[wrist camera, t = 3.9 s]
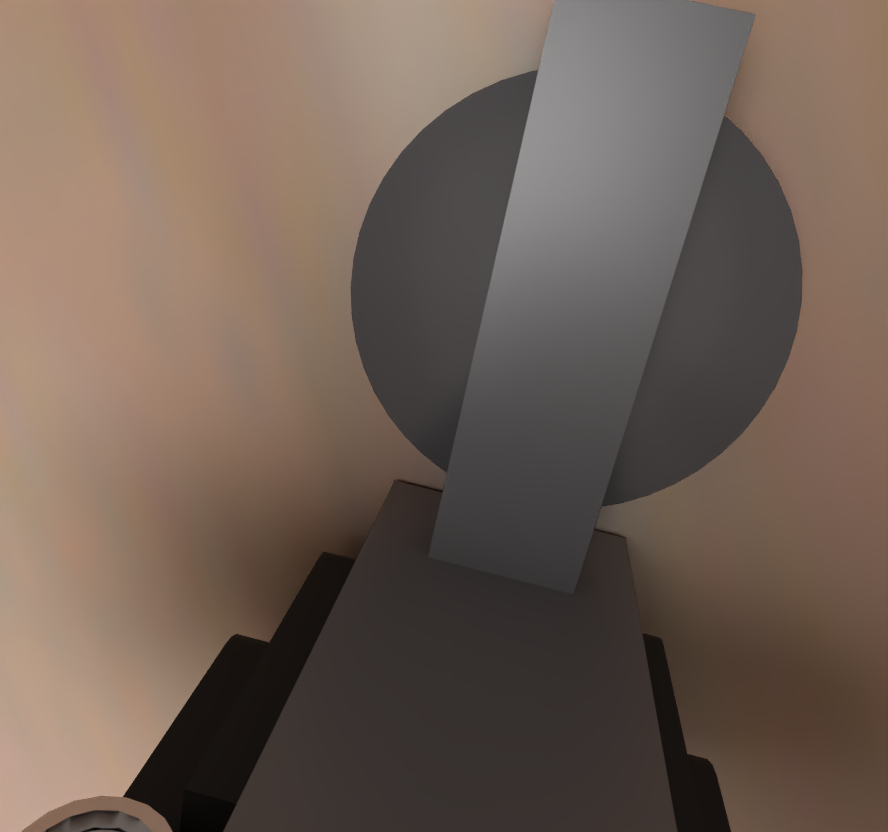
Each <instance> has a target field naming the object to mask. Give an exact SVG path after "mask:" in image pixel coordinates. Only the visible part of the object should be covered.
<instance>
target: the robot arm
mask: <svg viewBox="0 0 888 832" xmlns="http://www.w3.org/2000/svg"><path fill="white" fill-rule="evenodd" d="M355 561H356V559H352V558H348V557H344V556H340V555H336V554H332V553H328V552H323V553H322V554H321V555H320V557H319V559H318V560H317V562H316V564H315V566H314V567H313V569H312V571H311V572H310V574H309V576H308V578H307V579H306V581H305V583H304V584H303V586H302V588H301V590H300V591H299V593H298V595H297V596H296V598H295V600H294V602H293V603H292V605H291V607H290V608H289V610H288V612H287V614H286V615H285V617H284V619H283V620H282V622H281V624H280V625H279V627H278V629H277V631H276V632H275V634H274V636H273V637H272V639H271V641H270V643H269V642H265V641H261V640H257V639H254V638H250V637H246V636H242V635H239V634H236V635H234V636H232V637H231V638H230V639H229V641H228V642H227V643H226V644H225V646H224V647H223V649H222V650H221V652H220V653H219V655H218V656H217V658H216V659H215V661H214V662H213V664H212V665H211V667H210V668H209V670H208V671H207V673H206V674H205V676H204V677H203V678H202V680H201V681H200V683H199V684H198V686H197V687H196V689H195V690H194V692H193V693H192V695H191V696H190V698H189V699H188V701H187V702H186V704H185V705H184V707H183V708H182V710H181V711H180V713H179V714H178V716H177V717H176V719H175V720H174V722H173V723H172V725H171V726H170V728H169V729H168V731H167V732H166V734H165V735H164V737H163V738H162V740H161V741H160V743H159V744H158V745H157V747H156V748H155V750H154V751H153V753H152V754H151V756H150V757H149V759H148V760H147V762H146V763H145V765H144V766H143V768H142V769H141V771H140V772H139V774H138V775H137V777H136V778H135V780H134V781H133V783H132V784H131V786H130V787H129V789H128V790H127V792H126V793H125V795H124V796H123V797H110V796H99V797H93V798H88V799H82V800H77V801H73V802H71V803H69V804H66V805H64V806H61V807H59V808H57V809H54V810H52V811H50V812H48V813H46V814H45V815H43V816H42V817H41V818H39V819H38V820H36V821H35V822H34V823H32V824H31V825H29V826H28V827H27V828H25V829H24V830H23V831H22V832H223V831H224V829H225V827H226V825H227V823H228V821H229V819H230V817H231V815H232V813H233V811H234V809H235V807H236V804H237V802H238V800H239V798H240V796H241V794H242V792H243V790H244V788H245V786H246V784H247V782H248V780H249V778H250V776H251V774H252V772H253V770H254V768H255V766H256V764H257V762H258V759H259V757H260V755H261V753H262V751H263V749H264V747H265V745H266V743H267V741H268V739H269V737H270V735H271V733H272V731H273V729H274V727H275V725H276V723H277V721H278V719H279V717H280V714H281V712H282V710H283V708H284V706H285V704H286V702H287V700H288V698H289V696H290V694H291V692H292V690H293V688H294V686H295V684H296V682H297V680H298V678H299V676H300V674H301V672H302V669H303V667H304V665H305V663H306V661H307V659H308V657H309V655H310V653H311V651H312V649H313V647H314V645H315V643H316V641H317V639H318V637H319V635H320V633H321V631H322V629H323V627H324V624H325V622H326V620H327V618H328V616H329V614H330V612H331V610H332V608H333V606H334V604H335V602H336V600H337V598H338V596H339V594H340V592H341V590H342V588H343V586H344V584H345V582H346V579H347V577H348V575H349V573H350V571H351V569H352V567H353V565H354V563H355ZM642 635H643V640H644V646H645V652H646V657H647V663H648V669H649V674H650V680H651V686H652V691H653V697H654V703H655V708H656V714H657V720H658V725H659V731H660V737H661V742H662V748H663V754H664V759H665V765H666V770H667V776H668V782H669V787H670V793H671V799H672V804H673V810H674V816H675V821H676V827H677V832H731V830H730V826H729V822H728V818H727V814H726V810H725V807H724V803H723V799H722V795H721V791H720V787H719V783H718V779H717V776H716V773H715V770H714V768H713V765H712V764H711V763H710V762H709V761H708V760H707V759H704V758H701V757H697V756H693V755H689V754H687V751H686V746H685V742H684V737H683V733H682V728H681V724H680V719H679V714H678V710H677V705H676V701H675V696H674V691H673V687H672V682H671V678H670V673H669V669H668V664H667V659H666V655H665V650H664V646H663V642H662V640H661V639H660V638H659V637H655V636H651V635H647V634H643V633H642Z"/></svg>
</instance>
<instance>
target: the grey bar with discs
mask: <svg viewBox="0 0 888 832" xmlns="http://www.w3.org/2000/svg"><path fill="white" fill-rule="evenodd" d="M755 15H756V14H752V13H747V12H742V11H737V10H733V9H728V8H723V7H718V6H713V5H708V4H703V3H698V2H693V1H688V0H554V4H553V8H552V12H551V17H550V21H549V26H548V30H547V34H546V39H545V43H544V48H543V52H542V56H541V61H540V65H539V70H537V71H532V72H528V73H525V74H521V75H518V76H515V77H511V78H508V79H505V80H502V81H499V82H497V83H495V84H493V85H490V86H488V87H486V88H484V89H482V90H479V91H477V92H475V93H473V94H471V95H470V96H468V97H466V98H465V99H463V100H462V101H460V102H458V103H457V104H455V105H454V106H452V107H450V108H449V109H447V110H446V111H445V112H443V113H442V114H441V115H440V116H439V117H437V118H436V119H435V120H434V121H432V122H431V123H430V124H429V125H428V126H426V127H425V128H424V129H423V130H422V131H421V132H420V133H419V134H418V135H417V136H416V137H415V138H414V139H413V141H412V142H411V143H410V144H409V145H408V146H407V147H406V148H405V149H404V150H403V151H402V152H401V154H400V155H399V157H398V158H397V159H396V161H395V162H394V164H393V165H392V167H391V168H390V169H389V171H388V172H387V174H386V175H385V176H384V178H383V180H382V182H381V184H380V186H379V188H378V189H377V191H376V193H375V195H374V197H373V199H372V201H371V203H370V205H369V208H368V210H367V213H366V216H365V219H364V221H363V224H362V227H361V230H360V233H359V237H358V242H357V246H356V250H355V255H354V259H353V270H352V280H351V307H352V319H353V326H354V332H355V338H356V343H357V346H358V350H359V353H360V357H361V360H362V363H363V367H364V369H365V372H366V374H367V376H368V378H369V381H370V383H371V385H372V387H373V390H374V392H375V394H376V395H377V397H378V399H379V400H380V402H381V404H382V405H383V407H384V409H385V410H386V412H387V414H388V415H389V417H390V418H391V419H392V420H393V422H394V423H395V424H396V426H397V427H398V428H399V429H400V431H401V432H402V433H403V434H404V436H405V437H406V438H407V439H408V440H409V441H410V442H411V443H412V444H413V445H414V446H415V447H416V448H417V449H418V450H419V451H420V452H421V453H422V454H423V455H425V456H426V457H427V458H429V459H430V460H431V461H432V462H434V463H435V464H436V465H438V466H439V467H440V468H441V469H443V470H444V471H446V472H447V475H446V479H445V484H444V488H443V492H439V491H435V490H431V489H427V488H423V487H419V486H415V485H411V484H407V483H403V482H399V481H394V483H393V485H392V487H391V490H390V492H389V494H388V496H387V498H386V500H385V502H384V504H383V506H382V508H381V510H380V512H379V514H378V516H377V518H376V520H375V522H374V524H373V526H372V528H371V530H370V532H369V534H368V537H367V539H366V541H365V543H364V545H363V547H362V549H361V551H360V553H359V555H358V557H357V559H356V561H355V563H354V565H353V567H352V569H351V571H350V573H349V575H348V577H347V579H346V582H345V584H344V586H343V588H342V590H341V592H340V594H339V596H338V598H337V600H336V602H335V604H334V606H333V608H332V610H331V612H330V614H329V616H328V618H327V620H326V622H325V624H324V627H323V629H322V631H321V633H320V635H319V637H318V639H317V641H316V643H315V645H314V647H313V649H312V651H311V653H310V655H309V657H308V659H307V661H306V663H305V665H304V667H303V669H302V672H301V674H300V676H299V678H298V680H297V682H296V684H295V686H294V688H293V690H292V692H291V694H290V696H289V698H288V700H287V702H286V704H285V706H284V708H283V710H282V712H281V714H280V717H279V719H278V721H277V723H276V725H275V727H274V729H273V731H272V733H271V735H270V737H269V739H268V741H267V743H266V745H265V747H264V749H263V751H262V753H261V755H260V757H259V759H258V762H257V764H256V766H255V768H254V770H253V772H252V774H251V776H250V778H249V780H248V782H247V784H246V786H245V788H244V790H243V792H242V794H241V796H240V798H239V800H238V802H237V804H236V807H235V809H234V811H233V813H232V815H231V817H230V819H229V821H228V823H227V825H226V827H225V829H224V831H223V832H677V827H676V821H675V816H674V810H673V804H672V799H671V793H670V787H669V782H668V776H667V770H666V765H665V759H664V754H663V748H662V742H661V737H660V731H659V725H658V720H657V714H656V708H655V703H654V697H653V691H652V686H651V680H650V674H649V669H648V663H647V657H646V652H645V646H644V640H643V635H642V629H641V623H640V618H639V612H638V606H637V601H636V595H635V590H634V584H633V578H632V573H631V567H630V561H629V556H628V550H627V544H626V539H625V538H623V537H619V536H615V535H611V534H607V533H603V532H599V531H595V530H594V527H595V524H596V521H597V518H598V515H599V511H600V508H601V506H607V505H613V504H619V503H624V502H627V501H630V500H634V499H637V498H641V497H644V496H648V495H650V494H652V493H655V492H657V491H660V490H662V489H664V488H667V487H669V486H671V485H674V484H675V483H677V482H679V481H681V480H682V479H684V478H686V477H688V476H689V475H691V474H693V473H695V472H696V471H698V470H699V469H701V468H702V467H703V466H705V465H706V464H707V463H709V462H710V461H712V460H713V459H714V458H716V457H717V456H718V455H720V454H721V453H722V452H723V451H724V450H725V449H726V448H727V447H728V446H729V445H730V444H731V443H732V442H733V441H735V440H736V439H737V438H738V437H739V436H740V435H741V434H742V433H743V431H744V430H745V429H746V428H747V427H748V425H749V424H750V423H751V422H752V420H753V419H754V418H755V417H756V416H757V414H758V413H759V412H760V410H761V409H762V407H763V406H764V404H765V402H766V401H767V399H768V398H769V396H770V394H771V393H772V391H773V390H774V388H775V386H776V384H777V382H778V380H779V378H780V376H781V373H782V371H783V369H784V367H785V365H786V363H787V360H788V357H789V354H790V351H791V348H792V344H793V341H794V338H795V335H796V331H797V325H798V319H799V313H800V307H801V300H802V265H801V256H800V247H799V240H798V236H797V232H796V228H795V225H794V221H793V217H792V213H791V210H790V208H789V205H788V203H787V201H786V198H785V196H784V194H783V191H782V189H781V187H780V184H779V182H778V180H777V179H776V177H775V176H774V174H773V172H772V171H771V169H770V167H769V166H768V164H767V163H766V161H765V159H764V158H763V156H762V155H761V154H760V152H759V151H758V150H757V149H756V148H755V146H754V145H753V144H752V143H751V142H750V140H749V139H748V138H747V137H746V136H745V135H744V133H743V132H742V131H741V130H740V129H739V128H737V127H736V126H735V125H734V124H733V123H732V122H731V121H730V120H728V119H727V118H726V117H725V116H724V114H725V110H726V107H727V104H728V101H729V98H730V94H731V91H732V88H733V85H734V82H735V78H736V75H737V72H738V69H739V66H740V63H741V59H742V56H743V53H744V50H745V47H746V43H747V40H748V37H749V34H750V31H751V28H752V24H753V21H754V18H755Z"/></svg>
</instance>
